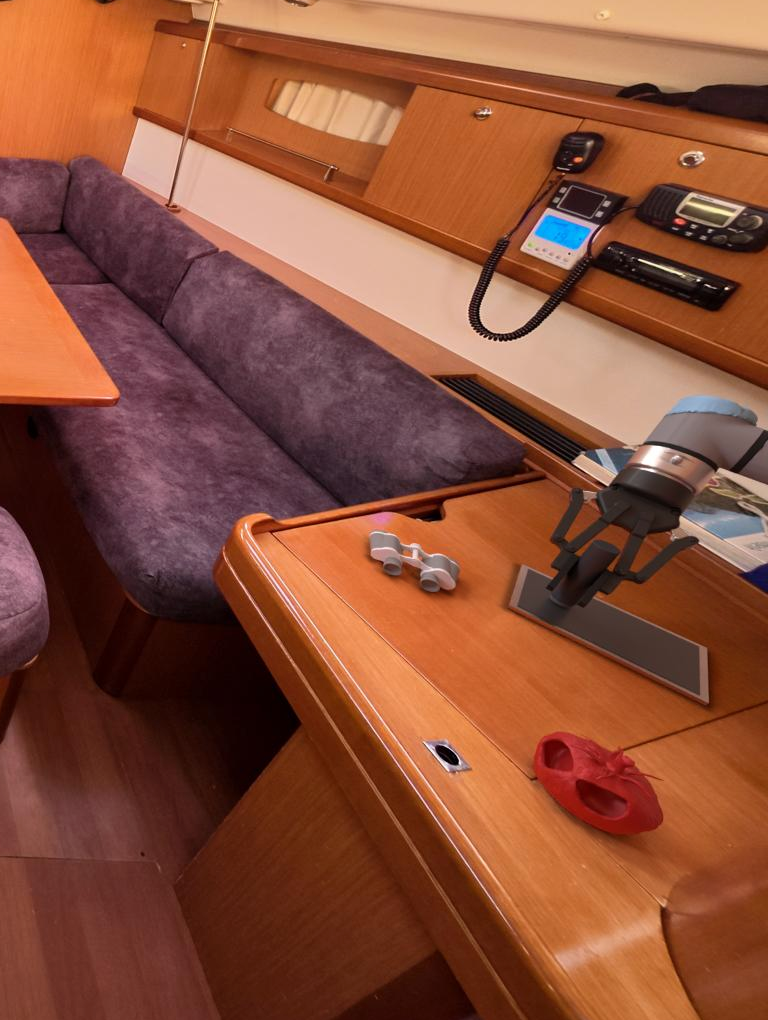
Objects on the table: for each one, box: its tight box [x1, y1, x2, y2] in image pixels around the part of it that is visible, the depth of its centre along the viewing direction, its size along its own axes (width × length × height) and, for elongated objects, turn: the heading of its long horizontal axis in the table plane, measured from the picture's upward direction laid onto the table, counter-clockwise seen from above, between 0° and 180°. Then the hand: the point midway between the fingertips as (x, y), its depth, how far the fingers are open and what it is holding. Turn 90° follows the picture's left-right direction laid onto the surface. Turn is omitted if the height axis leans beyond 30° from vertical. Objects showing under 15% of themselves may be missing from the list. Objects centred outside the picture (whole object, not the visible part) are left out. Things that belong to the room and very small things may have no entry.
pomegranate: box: [532, 730, 665, 835], centre depth 74 cm, size 10×10×9 cm
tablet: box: [507, 563, 710, 707], centre depth 98 cm, size 20×14×1 cm
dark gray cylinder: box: [550, 539, 622, 608], centre depth 98 cm, size 3×3×13 cm
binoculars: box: [368, 529, 461, 593], centre depth 107 cm, size 12×8×4 cm, turn 47°
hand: (565, 596), depth 98 cm, fingers closed on dark gray cylinder, 3 cm apart
